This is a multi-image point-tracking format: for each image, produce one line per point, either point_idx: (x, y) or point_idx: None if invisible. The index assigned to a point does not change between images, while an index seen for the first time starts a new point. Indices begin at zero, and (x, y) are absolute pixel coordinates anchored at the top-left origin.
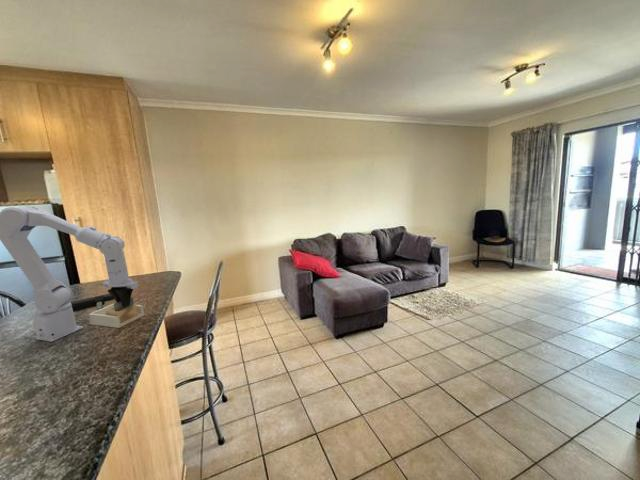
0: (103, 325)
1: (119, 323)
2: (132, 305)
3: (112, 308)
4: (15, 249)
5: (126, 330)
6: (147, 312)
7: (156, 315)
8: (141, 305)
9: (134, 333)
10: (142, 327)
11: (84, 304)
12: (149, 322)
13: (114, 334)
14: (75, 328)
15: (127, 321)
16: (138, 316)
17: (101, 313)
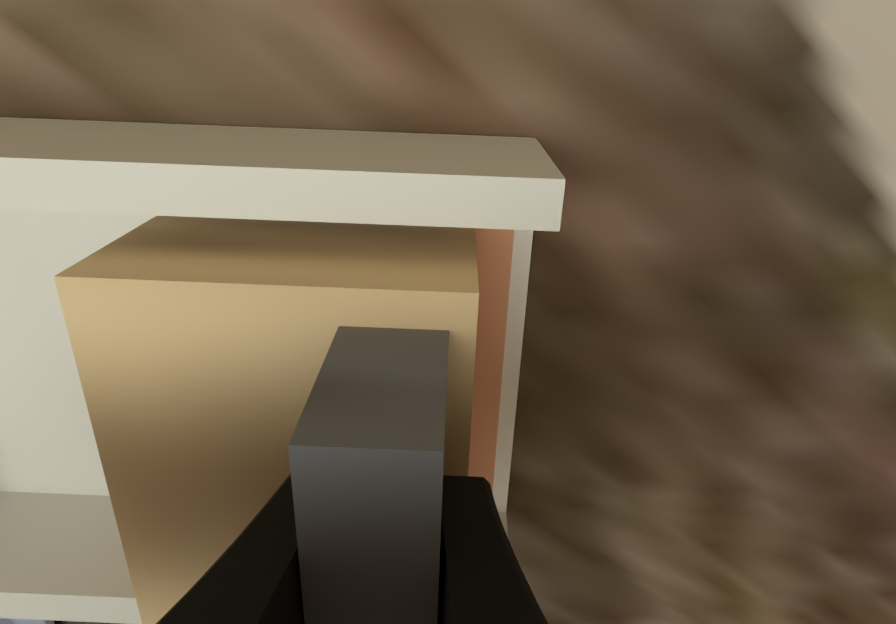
0: None
1: (507, 536)
2: (462, 379)
3: (146, 542)
4: None
5: (662, 537)
6: (491, 15)
7: (794, 110)
8: (533, 184)
9: (826, 571)
10: (829, 462)
11: None
12: (837, 342)
13: (592, 608)
14: (4, 621)
15: (513, 427)
16: (528, 256)
17: None
